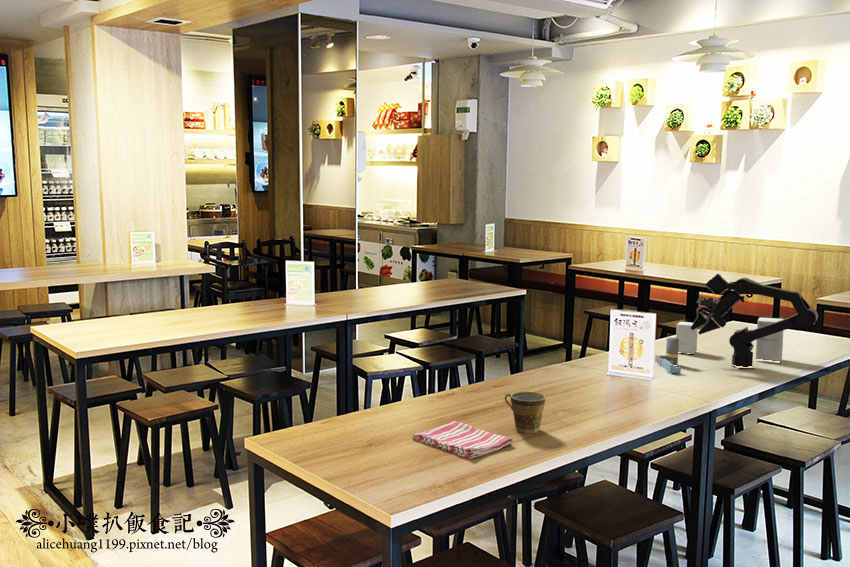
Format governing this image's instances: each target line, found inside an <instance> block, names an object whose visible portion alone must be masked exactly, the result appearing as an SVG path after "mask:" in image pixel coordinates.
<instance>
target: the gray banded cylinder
mask: <svg viewBox="0 0 850 567" xmlns="http://www.w3.org/2000/svg"><path fill="white" fill-rule="evenodd" d="M665 346H666V347H665V348H666V350H665V356H666V360H667V361H673V365H677V364H678V362H679V354H678V346H679V339H678V338H676V337H666V345H665ZM677 366H678V365H677Z"/></svg>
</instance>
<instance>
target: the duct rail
mask: <svg viewBox="0 0 850 567" xmlns="http://www.w3.org/2000/svg"><path fill="white" fill-rule="evenodd" d="M654 358H655V359H654V362H655V363H656V362H657V363H658V364H657V363H656V364H657V365H659V364H660V365H661V366H662V367H663V368H665V369H666V370H667V371H668V372H669V373H681V374H682V372H681V371H682V369H681V368H682V367H681V366H673V361H667V360H666V355H659V354H657V355H655V356H654ZM660 365H659V366H660ZM661 366H660V367H661ZM662 367H661V368H662ZM663 368H662V369H663ZM665 369H664V370H665ZM666 370H665V371H666ZM667 371H666V372H667ZM668 372H667V373H668ZM669 373H668V374H669Z"/></svg>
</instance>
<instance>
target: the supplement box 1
mask: <svg viewBox="0 0 850 567" xmlns="http://www.w3.org/2000/svg"><path fill="white" fill-rule="evenodd" d="M693 323H694V322H690V321H689V322H688V321H679V322H678V323H676V329H675V330H676V331H675V332H676V333H675V338H678V339H679V346H678V352H681V353H690V354H693V353H695V352H696V351H697V352H698V328H699V327H698V328H696V329H694V330H692V329H691V326H692V324H693ZM697 352H696V353H697ZM696 353H695V354H696Z"/></svg>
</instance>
